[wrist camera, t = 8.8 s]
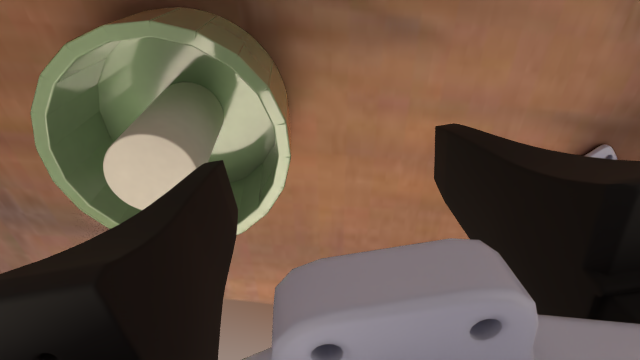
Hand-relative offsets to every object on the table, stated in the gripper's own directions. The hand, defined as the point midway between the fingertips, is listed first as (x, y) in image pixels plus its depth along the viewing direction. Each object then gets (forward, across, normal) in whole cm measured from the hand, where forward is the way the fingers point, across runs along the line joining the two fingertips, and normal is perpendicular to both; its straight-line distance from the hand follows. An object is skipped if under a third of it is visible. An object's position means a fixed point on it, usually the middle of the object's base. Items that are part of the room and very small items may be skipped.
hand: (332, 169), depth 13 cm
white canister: (+9, +7, 0) cm, 12 cm away
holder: (+10, +7, 0) cm, 12 cm away
